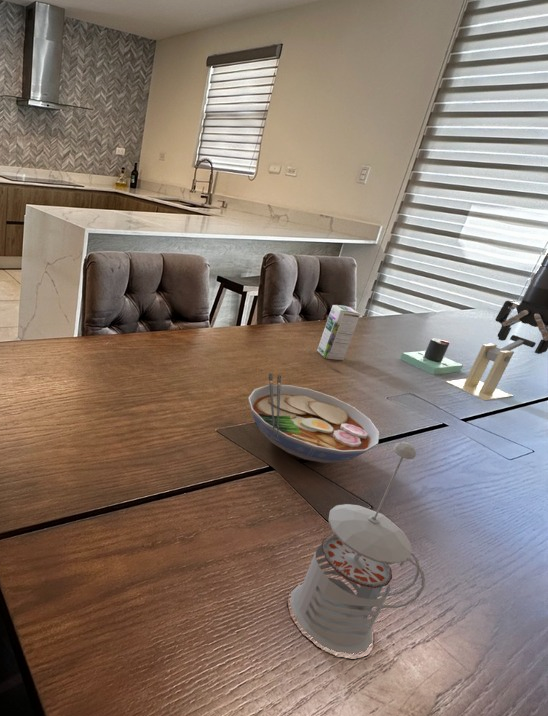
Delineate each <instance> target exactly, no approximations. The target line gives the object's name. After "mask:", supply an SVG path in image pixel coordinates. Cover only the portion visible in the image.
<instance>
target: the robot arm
mask: <svg viewBox="0 0 548 716" xmlns="http://www.w3.org/2000/svg"><path fill="white" fill-rule="evenodd" d="M515 309H516V312H517V314H515V315H513V316H511V317H510V318H508V317H509V315H510V313H511V312H512V311H514V310H515ZM495 321H496V322H497V323H499V324H500V325H501V327H500V329H499V331H498V333H497V340H499V341H502V342H503V341H506V340H507V338H508V336H509V334H510V332H511V330H512V326H513V325H515V324H518V323H522V324H525V325H529V326H531V327H534V328H538V331H539V332H540V333H541V336H542V339H540V340H539V343H538V344H537V347H536V349H535V350H534V354H537V355H542V354H544V353H546V352H547V351H548V250H546V252H545V255H544V257H543V258H542V260H541V263H540V265H539V267H538V268H537V270H536V271H535V273H534V274H533V275H532V278H531V279H530V283H529V284H528V286H527V288H526V290H525V292H524V295H523V297H522V299H521V301H520V303H518V302H516V301H515V300H506V301H504V302H503V305H502V307H501V308H500V309H499V312H498V314H497V315H496V317H495Z"/></svg>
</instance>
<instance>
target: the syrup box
mask: <svg viewBox="0 0 548 716" xmlns="http://www.w3.org/2000/svg"><path fill="white" fill-rule="evenodd" d="M360 316H361V313H360V312H358V311H356V309H354V308H353V307H350V306H347V305H341V304H332V306H331V309H330V312H329V314H328V317H327V319H326V323H325V326H324V329H323V331H322V336H321V338H320V340H319V344H318V347H317V350H316V351H317V353H319V354H320V355H321V356H322V357H323V358H324V359H328V360H337V361H344V359H345V358H346V354H347V352H348V349H349V346H350V344H351V341H352V338H353V335H354V332H355V330H356V327H357V325H358V322H359V319H360Z"/></svg>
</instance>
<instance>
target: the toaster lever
mask: <svg viewBox="0 0 548 716" xmlns="http://www.w3.org/2000/svg"><path fill="white" fill-rule="evenodd" d="M509 340H510V341H512V342H511V343H509V344H508V345H505V346H503V347H495V348H492V349H490V350H488V352H487V356H486V359H488V360H490V361H491V362H493V363H494V362H495V360H496V358H497V356H498V354H499V352H500V351H507V350H511V351H513V350H515V349H516V348H519V347H520V346H523V345H524V346H526V347H529V348H534V347H535V346H536V345H537V343H536V342H535V341H533V340H529V339H526V338H523V337H521V336H518V335H515V334H512V335H511V336H510V337H509Z"/></svg>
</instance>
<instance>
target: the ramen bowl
mask: <svg viewBox="0 0 548 716" xmlns="http://www.w3.org/2000/svg"><path fill="white" fill-rule="evenodd" d="M273 375H274V374H273V373H271V372H269V374H268V383H269V384H267V385H263V386H261V387H257V388H255V389H253V391H252V392H251V393H250V395H249V396H248V403H249V406H250V410H251V414H252V417H253V419H254V422H255V424H256V426H257V427H258V429H259V431H260V432H261V433H262V434H263V435H264V436H265V438H266V439H268V441H269V442H271V443H272V444H273V445H274V446H276V447H278V448H279V449H281V450H283V451H284V452H286V453H287V454H290V455H292V456H295V457H298V458H300V459H303V460H305V461H312V462H316V463H323V464H329V463H330V464H331V463H345V462H347V461H351V460H353V459H355V458H357V457H359V456H362V455H363V454H365V453H366V452H368V451H369V450H371V449H372V448H374V447H375V446H377V445H378V444H379V440H380V431H379V430H378V427H377V426H375V424H374V423H373V421H372V420H371V418H369V417H368V416H367V415H365V413H363V412H361V411H360V410H359V409H357V408H356V407H354V405H352V404H349V403H347V402H345V401H342V400H340V399H339V398H336V397H334V396H332V395H329V394H326V393H323V392H321V391H317V390H314V389H311V388H307V387H301V386H297V385H295V386H294V385H289V384H282V375H280V374H278V375H277V378H276V379H277V380H276V381H277V384H274V380H273V379H274V377H273Z"/></svg>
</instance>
